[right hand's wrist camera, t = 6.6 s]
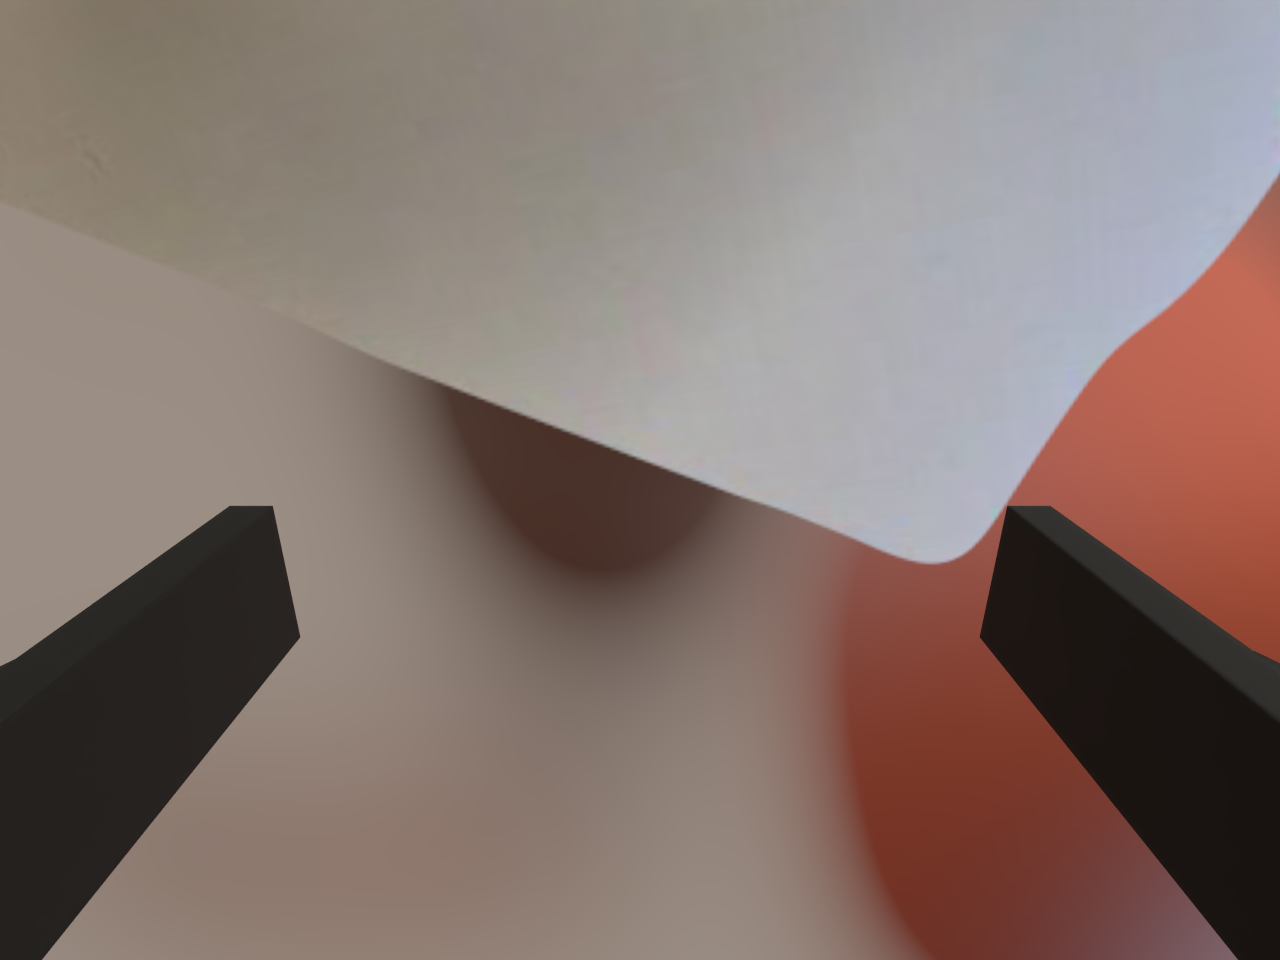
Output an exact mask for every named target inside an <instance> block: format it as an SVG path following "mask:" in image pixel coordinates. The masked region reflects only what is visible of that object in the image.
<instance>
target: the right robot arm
mask: <svg viewBox="0 0 1280 960" xmlns="http://www.w3.org/2000/svg"><path fill="white" fill-rule="evenodd" d="M299 638H300V634H299V629H298V624H297V620H296V615H295V610H294V605H293V600H292V596H291V591H290V586H289V581H288V577H287V572H286V567H285V562H284V558H283V553H282V548H281V543H280V539H279V534H278V529H277V524H276V520H275V515H274V510H273V506H229V507H228V508H226V509H225V510H223V511H222V512H221V513H219V514H218V515H216V516H215V517H214V518H212V519H211V520H209V521H208V522H207V523H205V524H204V525H202V526H201V527H200V528H198V529H197V530H196V531H194V532H193V533H191V534H190V535H188V536H187V537H186V538H184V539H183V540H181V541H180V542H179V543H177V544H176V545H174V546H173V547H172V548H170V549H169V550H167V551H166V552H165V553H163V554H162V555H160V556H159V557H158V558H156V559H155V560H153V561H152V562H151V563H149V564H148V565H146V566H145V567H144V568H142V569H141V570H139V571H138V572H137V573H135V574H134V575H132V576H131V577H130V578H128V579H127V580H126V581H124V582H123V583H121V584H120V585H119V586H117V587H116V588H114V589H113V590H112V591H110V592H109V593H107V594H106V595H105V596H103V597H102V598H100V599H99V600H98V601H96V602H95V603H93V604H92V605H91V606H89V607H88V608H86V609H85V610H84V611H82V612H81V613H79V614H78V615H77V616H75V617H74V618H72V619H71V620H70V621H68V622H67V623H65V624H64V625H63V626H61V627H60V628H58V629H57V630H56V631H54V632H53V633H51V634H50V635H49V636H47V637H46V638H44V639H43V640H42V641H40V642H39V643H37V644H36V645H35V646H33V647H32V648H30V649H29V650H28V651H26V652H25V653H23V654H22V655H21V656H19V657H18V658H16V659H14V660H12V661H10V662H8V663H6V664H4V665H2V666H0V960H42V959H43V958H44V956H45V955H46V954H47V953H48V951H49V950H50V949H51V948H52V946H53V945H54V944H55V943H56V941H57V940H58V939H59V938H60V936H61V935H62V934H63V933H64V931H65V930H66V929H67V928H68V926H69V925H70V924H71V923H72V921H73V920H74V919H75V918H76V916H77V915H78V914H79V913H80V911H81V910H82V909H83V908H84V906H85V905H86V904H87V903H88V901H89V900H90V899H91V898H92V896H93V895H94V894H95V893H96V891H97V890H98V889H99V888H100V886H101V885H102V884H103V883H104V881H105V880H106V879H107V878H108V876H109V875H110V874H111V873H112V871H113V870H114V869H115V868H116V866H117V865H118V864H119V863H120V861H121V860H122V859H123V858H124V856H125V855H126V854H127V853H128V852H129V850H130V849H131V848H132V846H133V845H134V844H135V843H136V842H137V840H138V839H139V838H140V837H141V835H142V834H143V833H144V831H145V830H146V829H147V828H148V826H149V825H150V824H151V823H152V822H153V820H154V819H155V818H156V817H157V815H158V814H159V813H160V812H161V810H162V809H163V808H164V807H165V805H166V804H167V803H168V802H169V800H170V799H171V798H172V797H173V795H174V794H175V793H176V791H177V790H178V789H179V788H180V787H181V785H182V784H183V783H184V782H185V780H186V779H187V778H188V777H189V775H190V774H191V773H192V772H193V770H194V769H195V768H196V767H197V765H198V764H199V763H200V762H201V760H202V759H203V758H204V757H205V755H206V754H207V753H208V752H209V750H210V749H211V748H212V747H213V745H214V744H215V743H216V742H217V740H218V739H219V738H220V737H221V735H222V734H223V733H224V732H225V730H226V729H227V728H228V727H229V725H230V724H231V723H232V722H233V720H234V719H235V718H236V717H237V715H238V714H239V713H240V712H241V710H242V709H243V708H244V707H245V705H246V704H247V703H248V702H249V700H250V699H251V698H252V697H253V695H254V694H255V693H256V692H257V690H258V689H259V688H260V687H261V685H262V684H263V683H264V682H265V680H266V679H267V678H268V677H269V675H270V674H271V673H272V672H273V670H274V669H275V668H276V667H277V665H278V664H279V663H280V662H281V660H282V659H283V658H284V657H285V655H286V654H287V653H288V652H289V650H290V649H291V648H292V647H293V645H294V644H295V643H296V642H297V641H298V639H299ZM980 638H981V639H982V641H983V642H984V643H985V644H986V646H987V647H988V648H989V649H990V651H991V652H992V653H993V654H994V655H995V657H996V658H997V659H998V661H999V662H1000V663H1001V664H1002V665H1003V667H1004V668H1005V669H1006V670H1007V672H1008V673H1009V674H1010V675H1011V677H1012V678H1013V679H1014V680H1015V682H1016V683H1017V684H1018V685H1019V687H1020V688H1021V689H1022V690H1023V692H1024V693H1025V694H1026V695H1027V697H1028V698H1029V699H1030V700H1031V702H1032V703H1033V704H1034V705H1035V707H1036V708H1037V709H1038V710H1039V712H1040V713H1041V714H1042V715H1043V717H1044V718H1045V719H1046V720H1047V722H1048V723H1049V724H1050V725H1051V727H1052V728H1053V729H1054V730H1055V732H1056V733H1057V734H1058V735H1059V737H1060V738H1061V739H1062V740H1063V742H1064V743H1065V744H1066V745H1067V747H1068V748H1069V749H1070V750H1071V752H1072V753H1073V754H1074V755H1075V757H1076V758H1077V759H1078V760H1079V762H1080V763H1081V764H1082V765H1083V767H1084V768H1085V769H1086V770H1087V771H1088V773H1089V774H1090V775H1091V777H1092V778H1093V779H1094V780H1095V782H1096V783H1097V784H1098V785H1099V787H1100V788H1101V789H1102V790H1103V792H1104V793H1105V794H1106V795H1107V797H1108V798H1109V799H1110V800H1111V802H1112V803H1113V804H1114V805H1115V807H1116V808H1117V809H1118V810H1119V812H1120V813H1121V814H1122V815H1123V817H1124V818H1125V819H1126V820H1127V822H1128V823H1129V824H1130V825H1131V827H1132V828H1133V829H1134V830H1135V832H1136V833H1137V834H1138V835H1139V837H1140V838H1141V839H1142V840H1143V842H1144V843H1145V844H1146V845H1147V847H1148V848H1149V849H1150V850H1151V852H1152V853H1153V854H1154V855H1155V856H1156V858H1157V859H1158V860H1159V862H1160V863H1161V864H1162V865H1163V866H1164V868H1165V869H1166V870H1167V871H1168V873H1169V874H1170V875H1171V876H1172V878H1173V879H1174V880H1175V881H1176V883H1177V884H1178V885H1179V886H1180V888H1181V889H1182V890H1183V891H1184V893H1185V894H1186V895H1187V896H1188V898H1189V899H1190V900H1191V901H1192V903H1193V904H1194V905H1195V906H1196V908H1197V909H1198V910H1199V911H1200V913H1201V914H1202V915H1203V916H1204V918H1205V919H1206V920H1207V921H1208V923H1209V924H1210V925H1211V926H1212V928H1213V929H1214V930H1215V931H1216V933H1217V934H1218V935H1219V936H1220V938H1221V939H1222V940H1223V941H1224V943H1225V944H1226V945H1227V946H1228V948H1229V949H1230V950H1231V951H1232V953H1233V954H1234V955H1235V956H1236V958H1237V959H1238V960H1280V663H1278V662H1276V661H1274V660H1272V659H1270V658H1268V657H1266V656H1263V655H1261V654H1259V653H1257V652H1255V651H1252V650H1251V649H1250V648H1248V647H1247V646H1245V645H1244V644H1243V643H1241V642H1240V641H1238V640H1237V639H1236V638H1234V637H1233V636H1231V635H1230V634H1229V633H1227V632H1226V631H1224V630H1223V629H1222V628H1220V627H1219V626H1217V625H1216V624H1215V623H1213V622H1212V621H1210V620H1209V619H1208V618H1206V617H1205V616H1203V615H1202V614H1201V613H1199V612H1198V611H1196V610H1195V609H1194V608H1192V607H1191V606H1189V605H1188V604H1187V603H1185V602H1184V601H1182V600H1181V599H1180V598H1178V597H1177V596H1175V595H1174V594H1173V593H1171V592H1170V591H1168V590H1167V589H1166V588H1164V587H1163V586H1161V585H1160V584H1159V583H1157V582H1156V581H1154V580H1153V579H1152V578H1150V577H1149V576H1147V575H1146V574H1145V573H1143V572H1142V571H1140V570H1139V569H1138V568H1136V567H1135V566H1133V565H1132V564H1131V563H1129V562H1128V561H1126V560H1125V559H1124V558H1122V557H1121V556H1120V555H1118V554H1117V553H1115V552H1114V551H1112V550H1111V549H1110V548H1108V547H1107V546H1106V545H1104V544H1103V543H1101V542H1100V541H1098V540H1097V539H1096V538H1094V537H1093V536H1092V535H1090V534H1089V533H1087V532H1086V531H1085V530H1083V529H1082V528H1080V527H1079V526H1077V525H1076V524H1075V523H1073V522H1072V521H1071V520H1069V519H1068V518H1066V517H1065V516H1064V515H1062V514H1061V513H1059V512H1058V511H1057V510H1055V509H1054V508H1052V507H1051V506H1007V510H1006V515H1005V519H1004V524H1003V529H1002V534H1001V539H1000V543H999V548H998V553H997V558H996V562H995V567H994V572H993V577H992V581H991V586H990V591H989V596H988V600H987V605H986V610H985V615H984V619H983V624H982V629H981V634H980Z"/></svg>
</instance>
